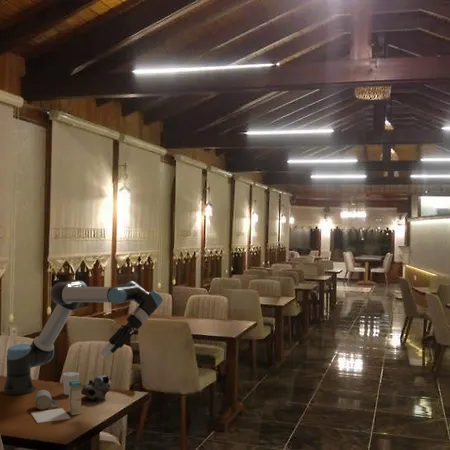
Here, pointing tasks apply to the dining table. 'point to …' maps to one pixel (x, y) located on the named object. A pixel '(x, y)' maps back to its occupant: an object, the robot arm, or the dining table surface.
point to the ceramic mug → (44, 400)
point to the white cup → (67, 378)
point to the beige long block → (75, 397)
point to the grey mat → (50, 415)
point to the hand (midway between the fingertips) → (104, 355)
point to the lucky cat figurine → (97, 388)
